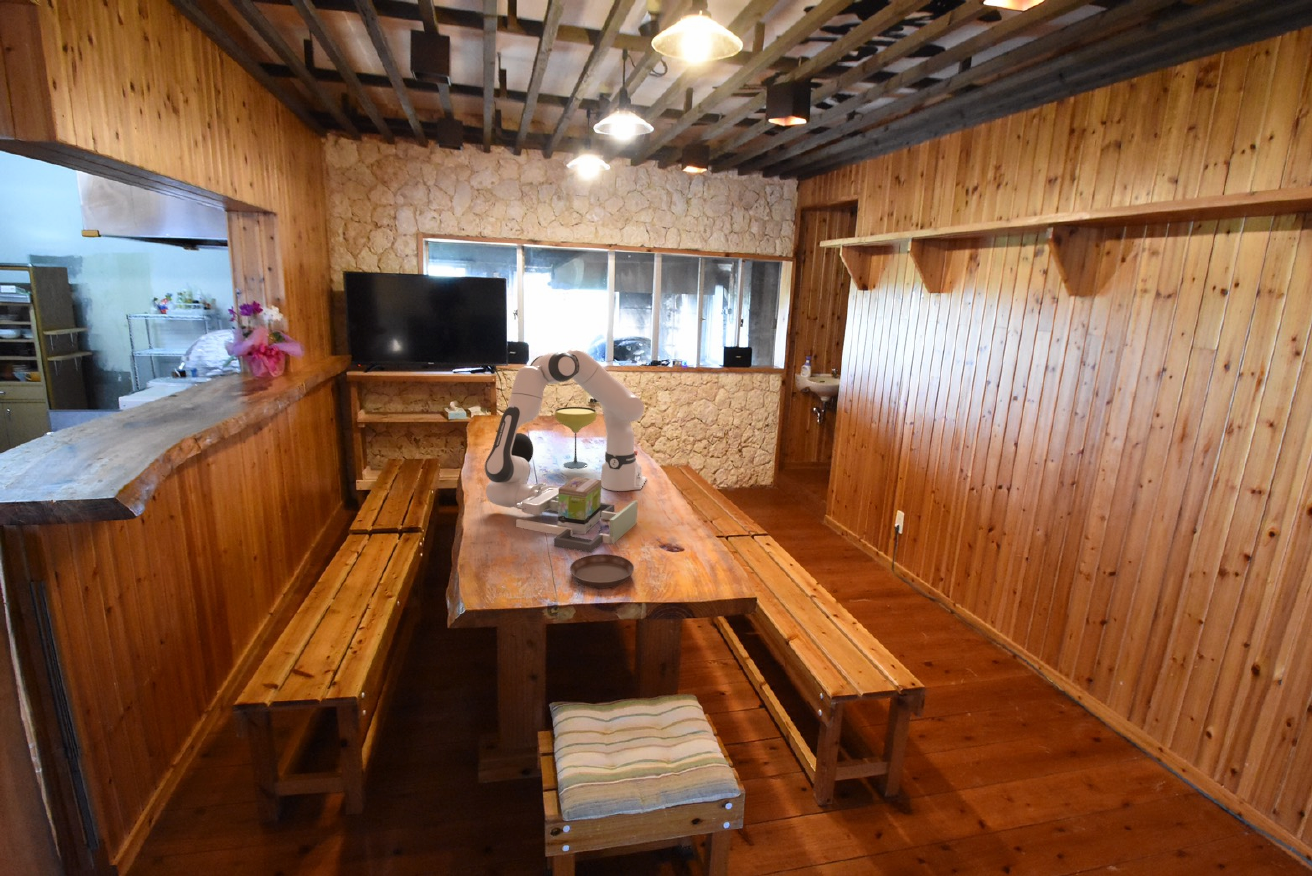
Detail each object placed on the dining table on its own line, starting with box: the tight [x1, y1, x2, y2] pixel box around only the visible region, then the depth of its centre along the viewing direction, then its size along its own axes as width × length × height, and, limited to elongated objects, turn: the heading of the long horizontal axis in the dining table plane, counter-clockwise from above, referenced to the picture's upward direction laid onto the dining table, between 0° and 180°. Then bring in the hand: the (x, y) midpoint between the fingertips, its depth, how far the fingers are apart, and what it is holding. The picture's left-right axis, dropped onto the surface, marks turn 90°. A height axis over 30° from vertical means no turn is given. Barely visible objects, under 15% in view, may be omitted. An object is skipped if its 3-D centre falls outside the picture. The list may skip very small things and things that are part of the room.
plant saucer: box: [569, 553, 635, 589], centre depth 176 cm, size 18×18×3 cm
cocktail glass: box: [554, 406, 597, 469], centre depth 283 cm, size 18×18×25 cm
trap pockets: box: [553, 502, 616, 553], centre depth 212 cm, size 36×20×2 cm, turn 160°
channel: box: [515, 500, 638, 545], centre depth 213 cm, size 20×35×8 cm, turn 70°
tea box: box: [557, 476, 602, 535], centre depth 212 cm, size 15×10×15 cm, turn 166°
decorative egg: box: [511, 432, 534, 464], centre depth 279 cm, size 12×12×15 cm
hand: (565, 503), depth 214 cm, fingers closed
